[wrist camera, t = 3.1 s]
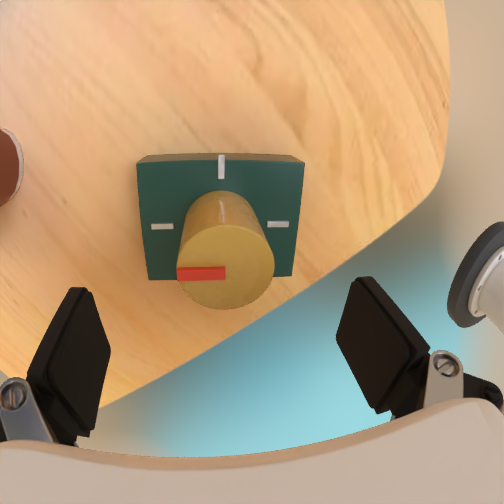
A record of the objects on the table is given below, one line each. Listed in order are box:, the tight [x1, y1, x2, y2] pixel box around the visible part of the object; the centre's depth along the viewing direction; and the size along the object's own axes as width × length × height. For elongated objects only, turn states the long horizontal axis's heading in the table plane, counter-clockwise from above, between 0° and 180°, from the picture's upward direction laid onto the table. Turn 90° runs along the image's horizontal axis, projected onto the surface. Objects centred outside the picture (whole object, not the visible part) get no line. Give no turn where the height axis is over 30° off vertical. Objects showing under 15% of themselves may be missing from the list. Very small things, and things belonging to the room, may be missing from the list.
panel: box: [137, 153, 305, 280], centre depth 19 cm, size 10×9×3 cm
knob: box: [177, 190, 275, 309], centre depth 15 cm, size 4×4×6 cm
